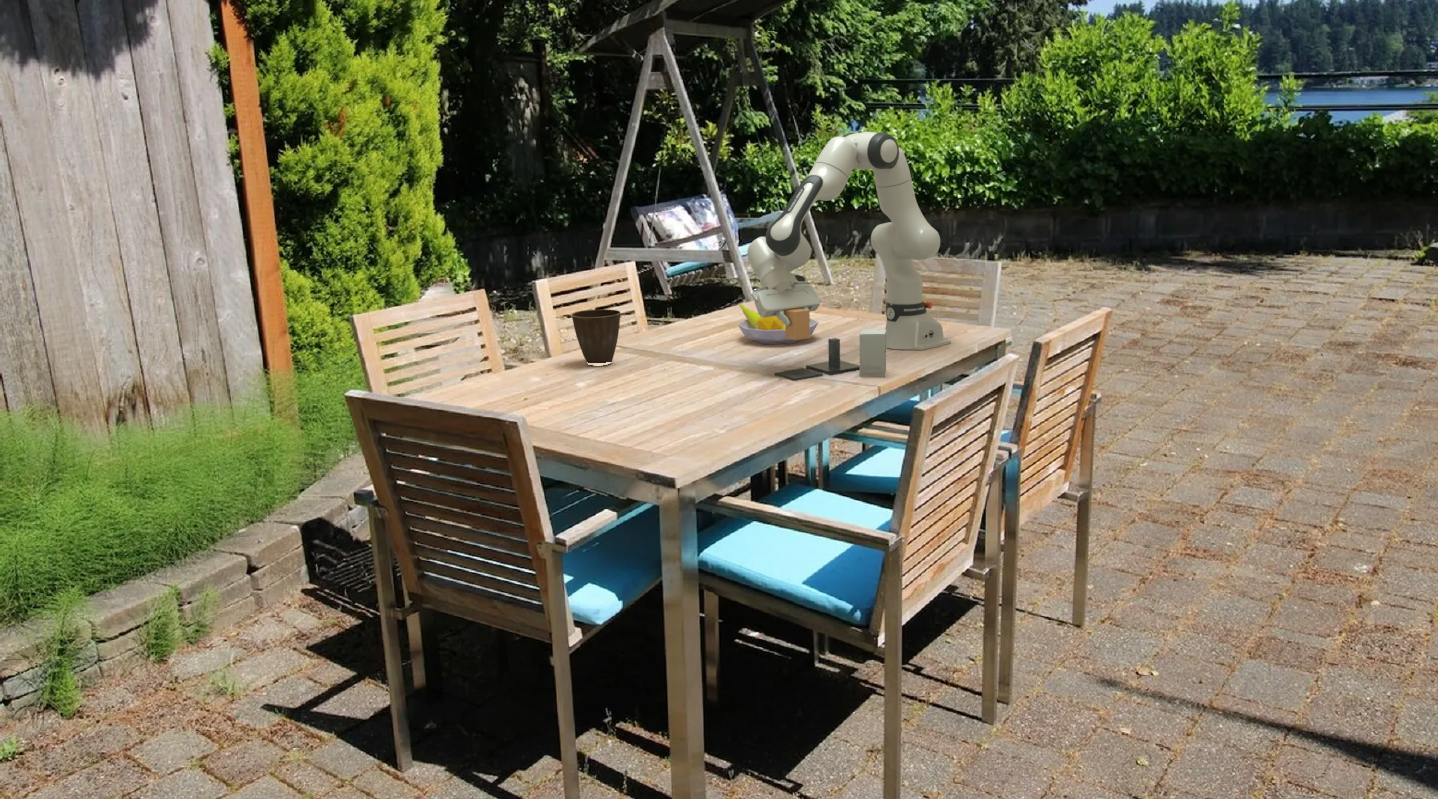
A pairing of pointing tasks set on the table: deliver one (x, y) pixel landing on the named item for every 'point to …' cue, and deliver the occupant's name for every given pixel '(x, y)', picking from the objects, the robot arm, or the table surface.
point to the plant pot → (597, 334)
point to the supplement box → (872, 353)
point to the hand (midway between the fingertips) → (798, 323)
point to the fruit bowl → (766, 328)
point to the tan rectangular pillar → (798, 324)
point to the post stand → (833, 361)
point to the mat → (798, 374)
